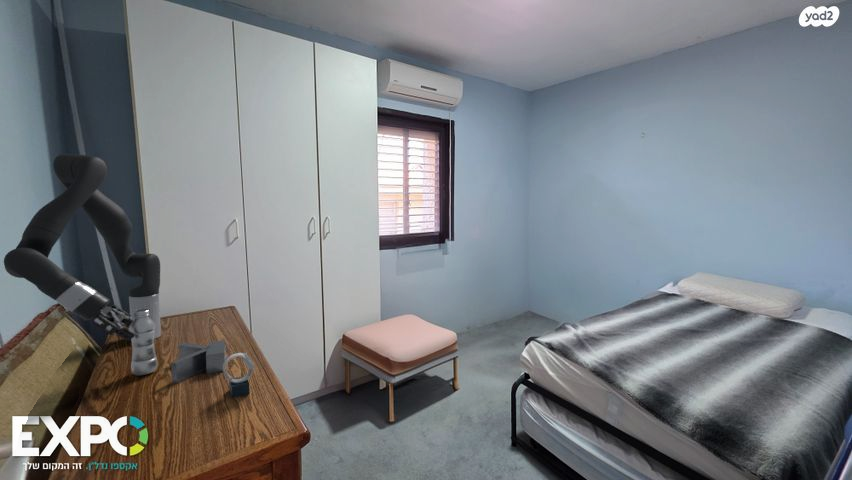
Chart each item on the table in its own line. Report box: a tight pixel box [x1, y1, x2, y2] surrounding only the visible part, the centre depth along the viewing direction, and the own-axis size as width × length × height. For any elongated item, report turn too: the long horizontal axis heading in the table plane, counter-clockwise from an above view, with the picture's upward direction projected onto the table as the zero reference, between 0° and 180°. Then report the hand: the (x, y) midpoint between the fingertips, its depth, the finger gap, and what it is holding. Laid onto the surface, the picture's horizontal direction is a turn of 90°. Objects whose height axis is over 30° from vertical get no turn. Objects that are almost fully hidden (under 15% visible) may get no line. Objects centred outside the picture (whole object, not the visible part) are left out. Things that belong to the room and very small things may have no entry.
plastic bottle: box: [128, 309, 158, 376], centre depth 111 cm, size 6×7×20 cm
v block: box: [170, 339, 227, 384], centre depth 117 cm, size 18×14×6 cm
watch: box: [222, 352, 256, 399], centre depth 102 cm, size 6×8×11 cm
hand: (135, 333), depth 110 cm, fingers open, 8 cm apart
